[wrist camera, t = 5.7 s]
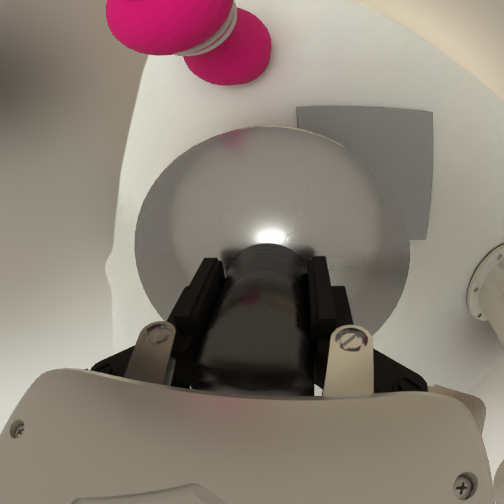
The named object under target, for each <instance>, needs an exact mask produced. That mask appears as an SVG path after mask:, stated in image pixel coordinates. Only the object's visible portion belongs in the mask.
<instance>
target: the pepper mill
mask: <svg viewBox="0 0 504 504" xmlns="http://www.w3.org/2000/svg"><path fill="white" fill-rule="evenodd" d="M106 18H107V22H108V26H109V28H110V30H111V32H112V34H113V35H114V36H115V38H116V39H117V40H119V41H120V42H121V43H122V44H124V45H125V46H127V47H128V48H130V49H133V50H135V51H137V52H140V53H144V54H150V55H172V54H175V55H179V56H183V57H184V60H185V62H186V64H187V66H188V67H189V69H190V70H191V71H192V72H193V73H194V74H195V75H197V76H198V77H199V78H201V79H203V80H205V81H207V82H210V83H212V84H217V85H233V84H243V83H247V82H250V81H252V80H254V79H256V78H257V77H258V76H260V75H261V74H262V73H263V71H264V70H265V69H266V67H267V65H268V62H269V58H270V52H271V38H270V35H269V32H268V30H267V28H266V27H265V26H264V24H263V23H262V22H261V20H260V19H258V18H257V17H256V16H255V15H253V14H252V13H250V12H248V11H245V10H243V9H240V8H236V4H235V2H234V0H107V4H106Z"/></svg>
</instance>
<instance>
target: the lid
mask: <svg viewBox="0 0 504 504" xmlns="http://www.w3.org/2000/svg"><path fill="white" fill-rule="evenodd" d="M313 256H326V260H327V266H328V271H329V276H330V282H331V286H345V288H346V293H347V297H348V301H349V305H350V310H351V314H352V319H353V323H354V325H357V326H360V327H362V328H364V329H366V330H367V331H368V332H369V333H370V334H371V336H372V335H373V334H374V333H375V332H377V331H378V330H379V329H380V327H381V326H382V325H383V324H384V323H385V321H386V320H387V319H388V318H389V316H390V315H391V313H392V312H393V310H394V308H395V307H396V305H397V303H398V301H399V299H400V297H401V294H402V292H403V290H404V286H405V283H406V279H407V276H408V269H409V262H410V243H409V237H408V231H407V226H406V223H405V220H404V217H403V214H402V211H401V208H400V206H399V204H398V203H397V201H396V199H395V197H394V195H393V193H392V191H391V190H390V189H389V187H388V186H387V185H386V183H385V182H384V181H383V179H382V178H381V177H380V176H379V175H378V174H377V173H376V172H375V171H374V170H373V169H372V168H371V167H370V166H369V165H368V164H367V163H366V162H365V161H364V160H362V159H361V158H360V157H358V156H357V155H355V154H354V153H353V152H351V151H350V150H348V149H347V148H345V147H344V146H342V145H341V144H339V143H337V142H335V141H333V140H331V139H329V138H327V137H324V136H322V135H319V134H316V133H313V132H310V131H307V130H303V129H298V128H292V127H285V126H254V127H247V128H241V129H237V130H233V131H230V132H227V133H223V134H220V135H217V136H215V137H212V138H210V139H208V140H206V141H204V142H202V143H200V144H198V145H195V146H193V147H192V148H191V149H189V150H188V151H186V152H185V153H183V154H182V155H180V156H179V157H178V158H176V159H175V160H174V161H173V162H172V163H171V164H170V165H169V166H168V167H167V168H166V169H165V170H164V171H163V172H162V173H161V174H160V176H159V177H158V178H157V180H156V181H155V182H154V184H153V185H152V187H151V188H150V190H149V192H148V194H147V196H146V198H145V200H144V201H143V204H142V207H141V210H140V213H139V216H138V220H137V225H136V231H135V258H136V265H137V269H138V273H139V277H140V280H141V282H142V285H143V288H144V290H145V292H146V294H147V296H148V298H149V300H150V302H151V303H152V305H153V306H154V308H155V309H156V311H157V312H158V314H159V315H160V316H161V317H162V319H163V320H164V321H167V319H168V317H169V315H170V313H171V312H172V310H173V308H174V306H175V304H176V302H177V300H178V299H179V297H180V295H181V293H182V291H183V289H184V288H185V287H186V286H189V285H190V283H191V281H192V279H193V277H194V275H195V273H196V272H197V270H198V268H199V266H200V264H201V262H202V261H203V259H204V258H218V261H222V263H223V269H224V275H225V281H224V284H223V286H222V289H221V292H220V294H219V297H218V300H217V302H216V305H215V308H214V311H213V313H212V316H211V319H210V322H209V324H208V327H207V330H206V332H205V335H204V338H203V341H202V343H201V346H200V349H199V352H198V355H197V357H196V360H195V363H194V366H193V369H192V371H191V374H190V385H191V388H192V389H194V390H202V391H211V392H220V393H232V394H245V395H264V396H314V360H313V345H312V341H311V330H310V308H309V290H308V260H310V259H312V258H313Z"/></svg>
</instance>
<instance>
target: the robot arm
mask: <svg viewBox="0 0 504 504" xmlns="http://www.w3.org/2000/svg"><path fill="white" fill-rule="evenodd" d="M224 281H225V275H224V269H223V263H222V261H218V258H204V259H203V261H202V262H201V264H200V266H199V268H198V270H197V272H196V273H195V275H194V277H193V279H192V281H191V283H190V285H189V286H186V287H185V288H184V289H183V291H182V293H181V295H180V297H179V299H178V300H177V302H176V304H175V306H174V308H173V310H172V312H171V313H170V315H169V317H168V319H167V321H158V322H154V323H151V324H149V325H147V326H146V327H144V328H143V329H142V331H141V332H140V334H139V337H138V339H137V342H136V345H135V346H132V347H130V348H128V349H126V350H124V351H122V352H119V353H117V354H115V355H113V356H111V357H108V358H106V359H104V360H102V361H100V362H98V363H96V364H95V365H94V366H93V367H92V368H91V370H88V369H85V370H83V369H71V368H64V369H55V370H51V371H48V372H45V373H43V374H42V375H40V376H39V377H38V378H37V379H36V380H35V381H34V383H33V384H32V385H31V386H30V388H29V389H28V390H27V391H26V393H25V394H24V396H23V397H22V398H21V400H20V402H19V403H18V405H17V406H16V408H15V409H14V411H13V413H12V414H11V416H10V418H9V420H8V422H7V423H6V425H5V427H4V429H3V431H2V433H1V434H0V504H495V502H496V504H504V460H503V462H502V463H501V464H500V466H499V467H498V469H497V471H496V475H495V477H494V483H493V485H492V478H491V472H490V467H489V461H488V457H487V454H486V450H485V446H484V443H483V439H482V431H483V426H484V420H485V415H486V407H485V405H484V403H483V402H482V400H481V399H480V398H477V397H475V396H472V395H469V394H465V393H462V392H458V391H455V390H452V389H448V388H445V387H442V386H438V385H435V384H434V385H433V387H431V386H428V385H427V383H426V381H425V380H424V379H423V378H422V377H421V376H420V375H419V374H417V373H415V372H413V371H412V370H410V369H408V368H406V367H405V366H403V365H401V364H399V363H398V362H396V361H394V360H392V359H391V358H389V357H387V356H386V355H384V354H382V353H380V352H379V351H377V350H375V349H374V348H373V340H372V336H371V334H370V333H369V332H368V331H367V330H366V329H364V328H362V327H360V326H357V325H354V323H353V319H352V314H351V310H350V305H349V301H348V297H347V293H346V288H345V286H331V282H330V276H329V271H328V266H327V260H326V256H313V258H312V259H310V260H308V290H309V308H310V330H311V341H312V345H313V360H314V384H316V385H317V386H319V387H320V388H321V389H323V391H322V396H264V395H245V394H232V393H220V392H211V391H202V390H194V389H192V388H191V385H190V374H191V371H192V369H193V366H194V363H195V360H196V357H197V355H198V352H199V349H200V346H201V343H202V341H203V338H204V335H205V332H206V330H207V327H208V324H209V322H210V319H211V316H212V313H213V311H214V308H215V305H216V302H217V300H218V297H219V294H220V292H221V289H222V286H223V284H224ZM467 305H468V308H469V310H470V312H471V314H472V315H473V317H474V318H476V319H477V320H480V321H489V323H490V325H491V326H492V328H493V330H494V331H495V333H496V335H497V336H498V338H499V340H500V342H501V343H502V345H503V347H504V244H503V245H501V246H499V247H497V248H496V249H495V250H493V251H492V252H491V253H490V254H489V255H488V256H487V257H486V258H485V259H484V260H483V261H482V263H481V264H480V265H479V267H478V268H477V270H476V272H475V273H474V275H473V278H472V280H471V282H470V285H469V288H468V293H467ZM494 498H495V500H494Z"/></svg>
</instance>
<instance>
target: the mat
mask: <svg viewBox="0 0 504 504" xmlns="http://www.w3.org/2000/svg"><path fill="white" fill-rule="evenodd" d="M296 108H297V118H298V129H303V130H307V131H310V132H313V133H316V134H319V135H322V136H324V137H327V138H329V139H331V140H333V141H335V142H337V143H339V144H341V145H342V146H344V147H345V148H347V149H348V150H350V151H351V152H353V153H354V154H355V155H357V156H358V157H360V158H361V159H362V160H364V161H365V162H366V163H367V164H368V165H369V166H370V167H371V168H372V169H373V170H374V171H375V172H376V173H377V174H378V175H379V176H380V177H381V178H382V179H383V181H384V182H385V183H386V185H387V186H388V187H389V189H390V190H391V191H392V193H393V195H394V197H395V199H396V201H397V203H398V204H399V206H400V208H401V211H402V214H403V217H404V220H405V223H406V226H407V231H408V237H409V240H421V239H426V234H427V227H428V219H429V211H430V201H431V189H432V173H433V112H426V111H418V110H409V109H398V108H384V107H364V106H310V107H296Z"/></svg>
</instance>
